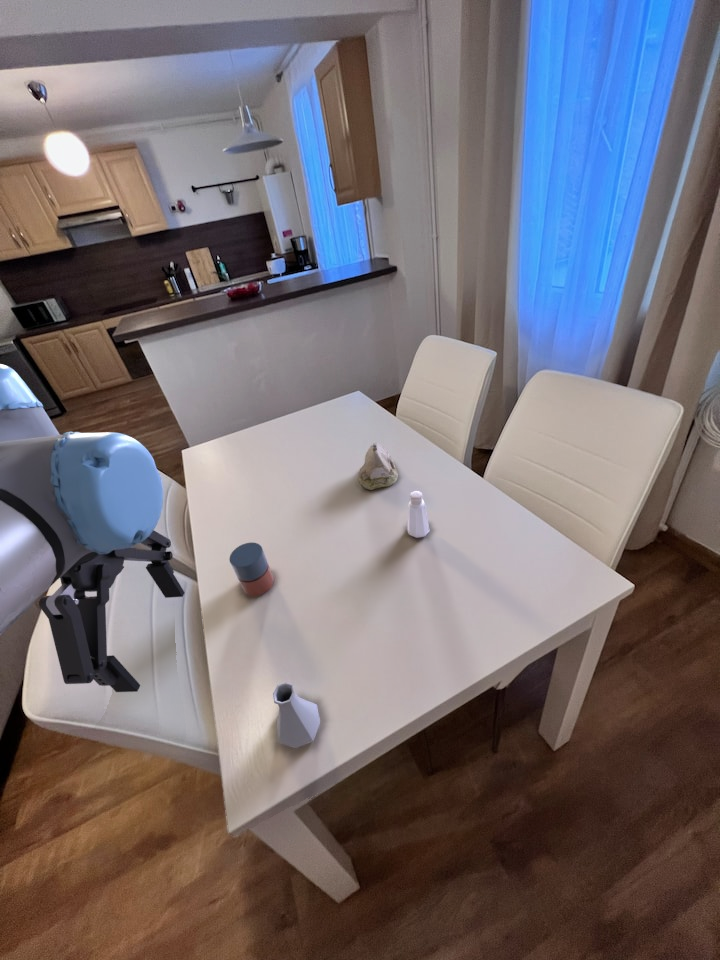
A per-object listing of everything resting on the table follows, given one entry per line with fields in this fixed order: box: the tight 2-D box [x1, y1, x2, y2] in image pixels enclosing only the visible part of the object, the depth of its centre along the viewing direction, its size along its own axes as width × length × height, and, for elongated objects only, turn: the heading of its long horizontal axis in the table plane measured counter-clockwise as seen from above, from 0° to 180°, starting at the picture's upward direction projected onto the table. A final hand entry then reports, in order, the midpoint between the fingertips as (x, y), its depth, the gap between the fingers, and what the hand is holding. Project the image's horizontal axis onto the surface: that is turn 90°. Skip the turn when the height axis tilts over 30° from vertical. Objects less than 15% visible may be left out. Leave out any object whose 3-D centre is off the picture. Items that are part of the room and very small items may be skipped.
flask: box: [272, 682, 322, 749], centre depth 62 cm, size 7×7×10 cm
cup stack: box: [229, 542, 275, 597], centre depth 87 cm, size 7×7×9 cm
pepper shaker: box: [406, 490, 431, 539], centre depth 93 cm, size 5×5×11 cm
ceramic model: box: [358, 442, 399, 491], centre depth 114 cm, size 14×11×10 cm
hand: (154, 637), depth 53 cm, fingers open, 13 cm apart
